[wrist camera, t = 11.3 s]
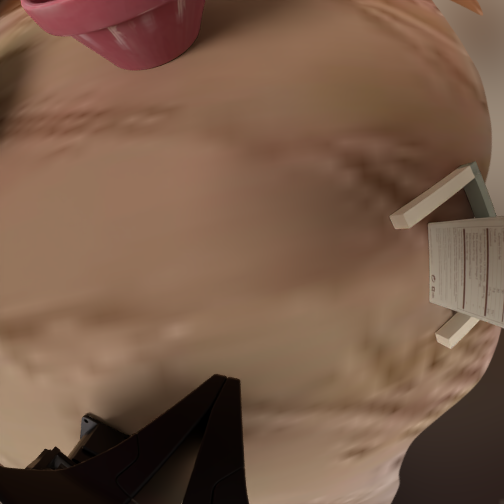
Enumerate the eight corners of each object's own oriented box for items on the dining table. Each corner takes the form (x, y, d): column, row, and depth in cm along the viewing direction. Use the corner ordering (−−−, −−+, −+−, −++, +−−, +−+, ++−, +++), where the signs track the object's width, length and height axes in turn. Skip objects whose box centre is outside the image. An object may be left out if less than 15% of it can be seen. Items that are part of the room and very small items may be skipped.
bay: (437, 342, 22) (450, 349, 20) (388, 216, 21) (402, 214, 19) (498, 278, 22) (512, 281, 20) (461, 165, 21) (475, 161, 19)
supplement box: (475, 218, 22) (573, 213, 9) (475, 291, 22) (569, 314, 9) (424, 220, 21) (541, 212, 9) (426, 303, 22) (533, 342, 9)
